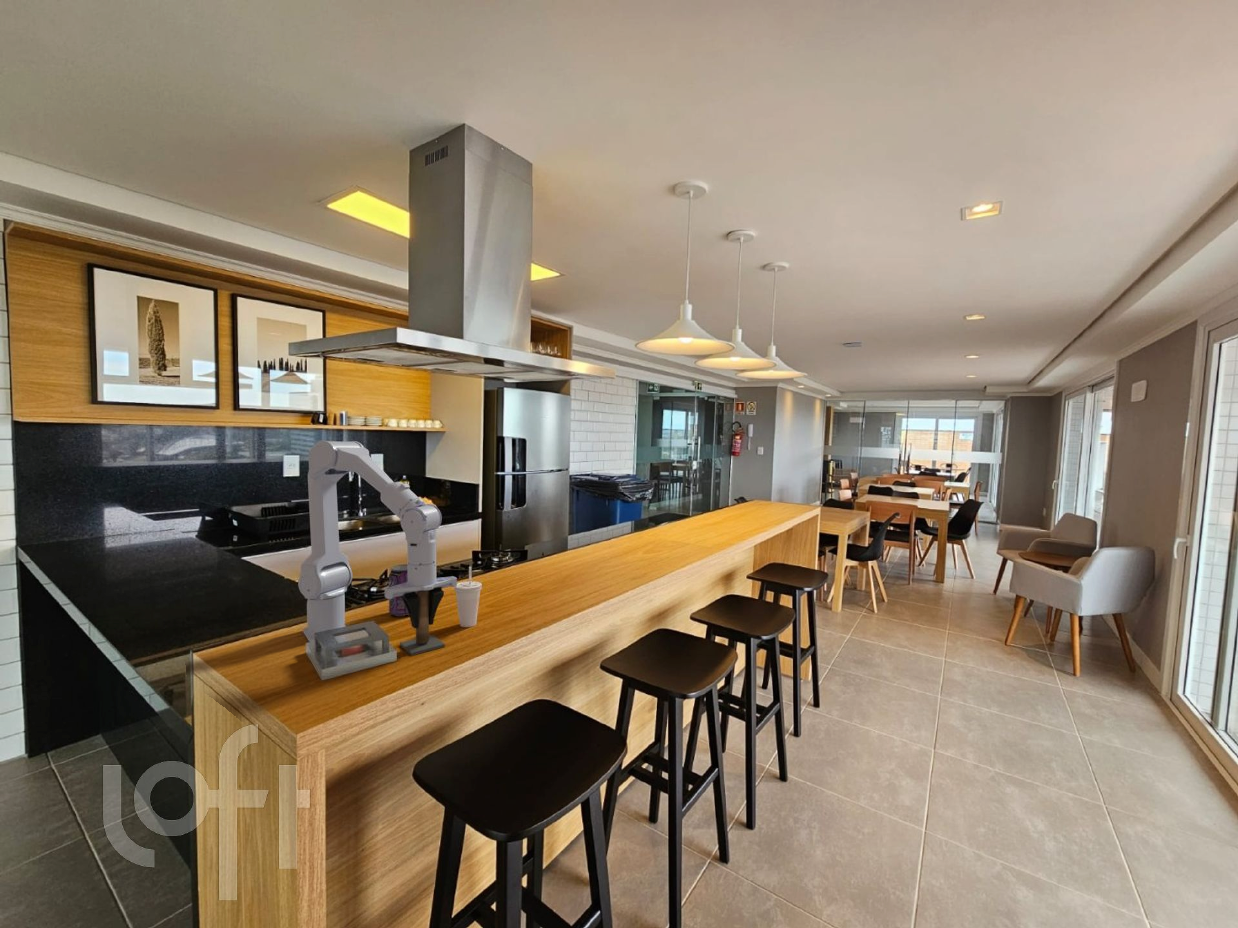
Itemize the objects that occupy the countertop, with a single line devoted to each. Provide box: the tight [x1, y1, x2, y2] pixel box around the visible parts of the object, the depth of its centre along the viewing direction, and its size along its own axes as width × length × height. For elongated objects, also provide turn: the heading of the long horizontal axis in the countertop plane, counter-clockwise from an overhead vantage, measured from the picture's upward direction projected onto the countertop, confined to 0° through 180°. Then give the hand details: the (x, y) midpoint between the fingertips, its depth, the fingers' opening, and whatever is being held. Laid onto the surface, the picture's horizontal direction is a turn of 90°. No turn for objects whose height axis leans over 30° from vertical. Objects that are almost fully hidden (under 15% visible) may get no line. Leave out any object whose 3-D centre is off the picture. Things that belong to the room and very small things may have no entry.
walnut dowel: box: [415, 590, 430, 644], centre depth 106 cm, size 3×3×11 cm
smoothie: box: [453, 566, 483, 628], centre depth 119 cm, size 6×6×14 cm
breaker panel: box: [305, 620, 398, 681], centre depth 100 cm, size 16×13×5 cm
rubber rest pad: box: [399, 634, 446, 657], centre depth 106 cm, size 7×7×1 cm
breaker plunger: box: [341, 645, 363, 658], centre depth 99 cm, size 4×4×2 cm
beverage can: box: [388, 563, 409, 617], centre depth 126 cm, size 7×7×12 cm
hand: (422, 625), depth 106 cm, fingers closed on walnut dowel, 2 cm apart
